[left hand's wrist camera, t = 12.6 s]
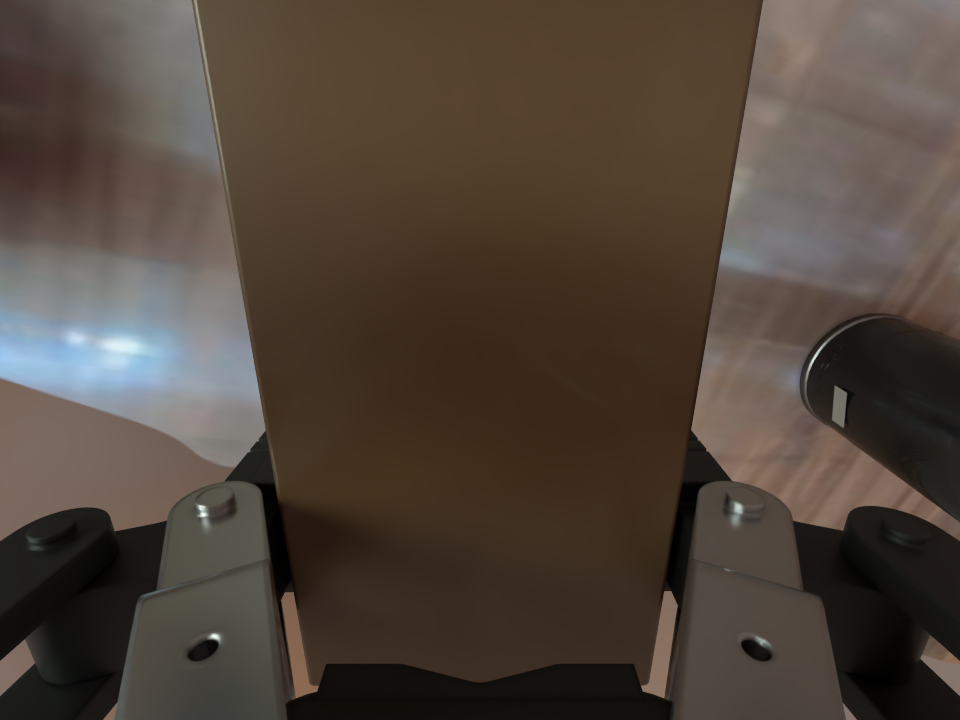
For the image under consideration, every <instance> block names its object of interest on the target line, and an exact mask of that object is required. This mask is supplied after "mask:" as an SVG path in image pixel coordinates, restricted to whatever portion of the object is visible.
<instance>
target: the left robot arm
mask: <svg viewBox="0 0 960 720" xmlns="http://www.w3.org/2000/svg"><path fill="white" fill-rule="evenodd" d="M800 393H801V397H802V400H803V403H804V405H805V406H806V408H807V409H808V411H809V412H810V413H811V414H812V415H813V416H814V417H816V418H817V419H818V420H820V421H821V422H822V423H824V424H825V425H827V426H829V427H831V428H833V429H834V430H835V431H837V432H838V433H839V434H841V435H842V436H843V437H845V438H846V439H847V440H849V441H850V442H851V443H853V444H854V445H855V446H857V447H858V448H859V449H861V450H862V451H863V452H865V453H866V454H868V455H869V456H870V457H872V458H873V459H874V460H876V461H877V462H878V463H880V464H881V465H883V466H884V467H885V468H887V469H888V470H889V471H891V472H892V473H893V474H895V475H896V476H897V477H899V478H900V479H902V480H903V481H904V482H906V483H907V484H908V485H910V486H911V487H912V488H914V489H915V490H917V491H918V492H919V493H921V494H922V495H923V496H925V497H926V498H927V499H929V500H930V501H932V502H933V503H934V504H936V505H937V506H938V507H940V508H941V509H942V510H944V511H945V512H947V513H948V514H949V515H951V516H952V517H953V518H955V519H956V520H957V521H959V522H960V340H957V339H955V338H952V337H949V336H946V335H944V334H941V333H939V332H936V331H933V330H930V329H927V328H924V327H922V326H919V325H916V324H915V323H913V322H911V321H909V320H907V319H904V318H901V317H898V316H895V315H890V314H868V315H863V316H859V317H856V318H853V319H851V320H848V321H846V322H844V323H842V324H840V325H839V326H837V327H835V328H834V329H833V330H831V331H830V332H829V333H827V334H826V335H825V336H824V337H823V338H822V339H821V340H820V341H819V342H818V343H817V344H816V345H815V347H814V348H813V349H812V351H811V352H810V354H809V355H808V357H807V359H806V361H805V363H804V366H803V369H802V372H801V377H800ZM664 591H672V593H673V596H674V598H675V600H676V602H677V605H678V608H677V614H676V619H675V627H674V634H673V641H672V648H671V655H670V662H669V669H668V676H667V683H666V691H665V698H661V697H659V696H656V695H653V694H650V693H646V692H643V691H642V688H641V685H640V682H639V678H638V675H637V672H636V669H635V666H634V664H555V665H551V666H547V667H543V668H539V669H535V670H531V671H527V672H524V673H520V674H516V675H512V676H508V677H504V678H500V679H496V680H492V681H488V682H472V681H468V680H464V679H460V678H456V677H452V676H448V675H444V674H440V673H436V672H433V671H429V670H425V669H421V668H417V667H413V666H409V665H405V664H326V666H325V669H324V672H323V675H322V678H321V682H320V685H319V688H318V691H317V692H314V693H310V694H307V695H304V696H301V697H299V698H295V691H294V684H293V677H292V669H291V662H290V655H289V648H288V641H287V634H286V627H285V620H284V614H283V608H282V603H281V599H282V597H283V595H284V593H285V592H294V590H293V584H292V579H291V573H290V567H289V561H288V555H287V550H286V544H285V538H284V532H283V526H282V520H281V515H280V509H279V503H278V497H277V491H276V486H275V480H274V474H273V468H272V462H271V457H270V451H269V445H268V439H267V433H266V431H265V432H264V433H263V435H262V436H261V437H260V438H259V442H256V443H255V444H254V446H253V447H252V448H251V449H250V452H248V453H247V454H246V455H245V457H244V458H243V459H242V460H241V462H240V463H239V464H238V465H237V467H236V468H235V469H234V470H233V471H232V473H231V474H230V475H229V476H228V478H227V479H226V480H225V481H224V482H220V483H215V484H212V485H208V486H205V487H202V488H200V489H198V490H195V491H193V492H191V493H190V494H188V495H186V496H185V497H183V498H182V499H180V500H179V501H178V502H177V503H176V504H175V505H174V506H173V507H172V509H171V510H170V512H169V514H168V518H167V521H164V522H160V523H156V524H151V525H146V526H141V527H135V528H130V529H125V530H120V531H114V528H113V525H112V522H111V518H110V516H109V514H108V513H107V512H106V511H104V510H101V509H98V508H87V507H86V508H75V509H69V510H65V511H61V512H57V513H54V514H51V515H48V516H45V517H42V518H40V519H38V520H35V521H33V522H31V523H29V524H27V525H25V526H23V527H22V528H20V529H18V530H17V531H15V532H13V533H12V534H10V535H9V536H7V537H6V538H4V539H3V540H1V541H0V660H2V659H3V658H4V657H5V656H6V655H7V654H8V653H9V652H11V651H12V650H13V649H14V648H15V647H16V646H17V645H19V644H20V643H21V642H22V641H23V640H24V639H25V640H26V643H27V645H28V647H29V650H30V652H31V654H32V657H33V659H34V661H35V664H34V665H33V666H32V667H31V668H30V669H29V670H28V671H26V672H25V673H24V674H23V675H22V676H21V677H20V678H19V679H18V680H17V681H16V682H15V683H14V684H13V685H12V686H11V687H10V688H8V689H7V690H6V691H5V692H4V693H3V694H2V695H1V696H0V720H103V719H104V718H105V717H106V715H107V714H108V713H109V712H110V710H111V709H112V708H113V707H114V706H115V704H116V703H117V707H116V713H115V718H114V720H846V718H845V713H844V708H843V703H844V704H845V706H846V707H847V708H848V709H849V710H850V712H851V713H852V714H853V715H854V717H855V718H856V719H857V720H960V696H959V695H958V694H957V693H956V692H955V691H954V690H953V689H952V688H950V687H949V686H948V685H947V684H946V683H945V682H944V681H943V680H942V679H941V678H940V677H939V676H938V675H937V674H936V673H935V672H934V671H932V670H931V669H930V668H929V667H928V666H927V665H926V664H925V663H924V662H923V661H922V660H921V659H920V658H921V655H922V653H923V651H924V648H925V646H926V644H927V641H928V639H929V636H930V635H931V636H932V637H933V638H935V639H936V640H937V641H938V642H939V643H940V644H941V645H943V646H944V647H945V648H946V649H947V650H948V651H949V652H950V653H952V654H953V655H954V656H955V657H956V658H957V659H958V660H960V541H959V540H957V539H956V538H954V537H953V536H951V535H950V534H948V533H947V532H945V531H944V530H942V529H940V528H939V527H937V526H935V525H934V524H932V523H930V522H928V521H926V520H924V519H921V518H919V517H917V516H914V515H911V514H909V513H906V512H902V511H899V510H895V509H891V508H885V507H878V506H863V507H858V508H855V509H853V510H852V511H850V513H849V514H848V517H847V520H846V523H845V527H844V530H843V531H841V530H836V529H831V528H826V527H821V526H816V525H810V524H805V523H800V522H796V521H793V518H792V514H791V512H790V510H789V509H788V507H787V506H786V505H785V504H784V503H783V502H782V501H781V500H780V499H778V498H777V497H775V496H774V495H772V494H770V493H769V492H767V491H765V490H762V489H760V488H758V487H755V486H752V485H749V484H745V483H740V482H734V481H732V480H731V479H730V478H729V477H728V475H727V474H726V473H725V472H724V470H723V469H722V468H721V467H720V465H719V464H718V463H717V462H716V460H715V459H714V458H713V457H712V455H711V454H710V453H709V452H706V448H705V447H704V446H703V444H702V443H701V442H700V441H698V438H697V437H696V436H695V434H694V433H693V432H692V431H691V433H690V439H689V445H688V451H687V457H686V463H685V469H684V475H683V481H682V487H681V493H680V499H679V505H678V511H677V517H676V523H675V529H674V535H673V541H672V547H671V553H670V559H669V565H668V571H667V577H666V582H665V588H664Z"/></svg>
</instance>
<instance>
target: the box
mask: <svg viewBox="0 0 960 720" xmlns="http://www.w3.org/2000/svg"><path fill="white" fill-rule="evenodd" d="M762 3H763V0H192V4H193V10H194V15H195V21H196V27H197V33H198V39H199V44H200V50H201V56H202V62H203V68H204V74H205V79H206V85H207V91H208V97H209V103H210V108H211V114H212V120H213V126H214V132H215V137H216V143H217V149H218V155H219V161H220V166H221V172H222V178H223V184H224V190H225V195H226V201H227V207H228V213H229V219H230V224H231V230H232V236H233V242H234V248H235V253H236V259H237V265H238V271H239V277H240V282H241V288H242V294H243V300H244V306H245V312H246V317H247V323H248V329H249V335H250V341H251V346H252V352H253V358H254V364H255V370H256V375H257V381H258V387H259V393H260V399H261V404H262V410H263V416H264V422H265V428H266V433H267V439H268V445H269V451H270V457H271V462H272V468H273V474H274V480H275V486H276V491H277V497H278V503H279V509H280V515H281V520H282V526H283V532H284V538H285V544H286V550H287V555H288V561H289V567H290V573H291V579H292V584H293V590H294V596H295V602H296V607H297V613H298V619H299V625H300V631H301V637H302V642H303V648H304V654H305V660H306V666H307V671H308V677H309V683H310V684H311V685H313V686H319V685H320V682H321V678H322V675H323V672H324V669H325V666H326V664H405V665H409V666H413V667H417V668H421V669H425V670H429V671H433V672H436V673H440V674H444V675H448V676H452V677H456V678H460V679H464V680H468V681H472V682H488V681H492V680H496V679H500V678H504V677H508V676H512V675H516V674H520V673H524V672H527V671H531V670H535V669H539V668H543V667H547V666H551V665H555V664H634V666H635V669H636V672H637V675H638V678H639V682H640V685H646V684H648V683H649V678H650V672H651V666H652V660H653V654H654V648H655V642H656V636H657V630H658V624H659V618H660V612H661V606H662V600H663V594H664V588H665V582H666V577H667V571H668V565H669V559H670V553H671V547H672V541H673V535H674V529H675V523H676V517H677V511H678V505H679V499H680V493H681V487H682V481H683V475H684V469H685V463H686V457H687V451H688V445H689V439H690V433H691V427H692V421H693V415H694V409H695V403H696V397H697V391H698V385H699V379H700V373H701V367H702V361H703V355H704V349H705V343H706V337H707V331H708V325H709V319H710V313H711V308H712V302H713V296H714V290H715V284H716V278H717V272H718V266H719V260H720V254H721V248H722V242H723V236H724V230H725V224H726V218H727V212H728V206H729V200H730V194H731V188H732V182H733V176H734V170H735V164H736V158H737V152H738V146H739V140H740V134H741V128H742V122H743V116H744V110H745V104H746V98H747V92H748V86H749V80H750V74H751V68H752V62H753V56H754V50H755V45H756V39H757V33H758V27H759V21H760V15H761V9H762Z"/></svg>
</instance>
